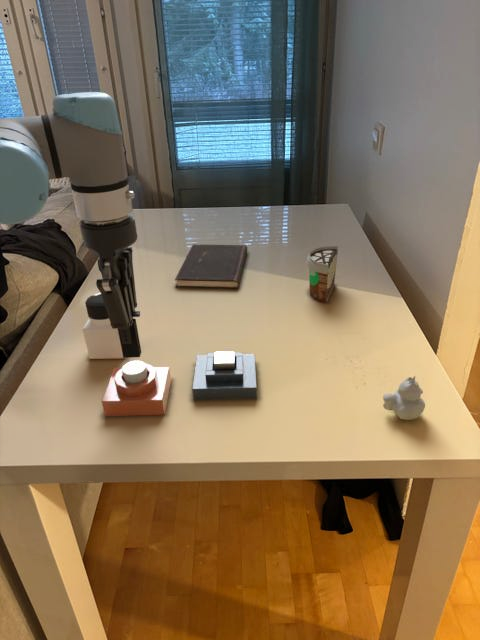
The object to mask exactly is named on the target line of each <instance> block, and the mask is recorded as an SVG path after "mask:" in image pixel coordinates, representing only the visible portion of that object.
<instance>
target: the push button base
mask: <svg viewBox="0 0 480 640" xmlns="http://www.w3.org/2000/svg"><path fill="white" fill-rule="evenodd" d="M214 354H215V352H207V353H206V354H197V355H196V358H195V365H194V372H193V373H194V374H193V381H192V388H191V390H192V400H193V401H199V400H200V401H201V400H202V401H203V400H236V399H237V400H238V399H239V400H240V399H242V400H244V399H257V398H258V396H257V395H258V388H257V385H258V384H257V369H256V353H244V352H235V370H224V371H214Z"/></svg>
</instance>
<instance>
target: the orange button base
mask: <svg viewBox="0 0 480 640" xmlns="http://www.w3.org/2000/svg"><path fill="white" fill-rule="evenodd" d="M144 363H145V364H146V368H147V374H148V376H147V378H146V379H145V380H144V381H142V382H139V383H134V384H129V383H126V382H125V381H124V377H123V372H122V367H115V368H113V370H112V373H111V375H110V378H109V380H108V382H107V385H106V389H105V391H104V394H103V397H102V399H101V405H102V409H103V413H104V417H113V416H114V417H115V416H116V417H117V416H118V417H119V416H120V417H121V416H122V417H123V416H158V415H160V416H161V415H165V414H166V409H167V403H168V399H169V395H170V394H169V393H170V390H171V389H170V388H171V383H172V377H171V370H170V369H171V368H170V366H153V364H152V365H151V364H149V363H147V362H144Z"/></svg>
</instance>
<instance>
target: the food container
mask: <svg viewBox="0 0 480 640" xmlns="http://www.w3.org/2000/svg"><path fill="white" fill-rule="evenodd" d="M338 255H339V246H338V245H324V246H319V247H316V248H314V249H312V250H311V251H310V252H309V253H308V255H307V258H306V262H305V264H306V266H307V268H308V275H309V276H308V278H309V280H308V281H309V295H310V297H311V298H313V299H315V300H316V301H319V302H322V303H327V302H328V300H329V297H330V296H331V293H332V292H333V290H334V287H335V281H336V273H337V272H336V271H337V262H338Z"/></svg>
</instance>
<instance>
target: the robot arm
mask: <svg viewBox="0 0 480 640" xmlns="http://www.w3.org/2000/svg"><path fill="white" fill-rule="evenodd" d="M52 107H53V108H52V112H50V113H47V114H41V115H34V116H31V115H30V116H20V117H19V116H17V117H5V118H4V117H3V118H0V225H18V224H22V223H25V222H27V221H29V220H31V219H33V218H34V217H36V216H37V215H38V214H39V213H40V212H41V211H42V209H43V208H44V207H45V205H46V202H47V200H48V198H49V191H50V188H51V187H50V186H51V181H50V180H59V179H63V178H69V181H70V187H71V188H70V189H71V193H72V198H73V203H74V206H75V207H74V208H75V212H76V213H75V214H76V217H77V218H78V219H80V222H79V228H80V233H81V238H82V243H83V245H84V247H85V248H86V249H88V250H90V251H94V252H96V253H97V254H98V259H97V268H98V270H99V272H100V273H101V278H99V279H96V282H95V284H96V288H97V289H98V291H99V293H101V295H102V298H103V301H104V304H105V307H106V310H107V314H108V317H109V320H110V323H111V324H110V325H111V326H112V328H113V329H118V333H119V338H120V343H121V348H122V353H123V358H122V359H125V358H127V359H128V358H141V355H142V346H141V344H140V343H141V342H140V336H139V330H138V325H137V324H138V323H137V319H136V318H140V317H141V311H140V310H136V308H138V302H137V292H136V283H135V273H134V264H133V251H134V250H133V247H132V246H133V245H134V244H135V243H136V242H137V240H138V232H137V226H136V220H135V216H134V215H133V214H132V212H133V209H134V208H133V202H132V199H134V198H135V196H136V194H135V192H134V191H133V190H130V185H129V184H130V183H129V176H128V169H127V164H126V163H127V162H126V161H127V160H126V155H125V147H124V141H123V131H122V130H121V125H120V120H119V116H118V110H117V106H116V101H115V100H114V98H113V97H112V96H111V95H110V94H107V93H106V92H99V91H87V92H73V93H64V94H63V93H62V94H59V95H56V96H54V97H53V99H52Z"/></svg>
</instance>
